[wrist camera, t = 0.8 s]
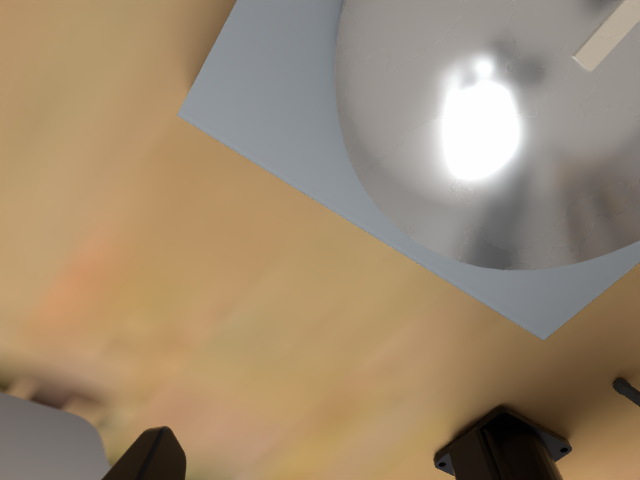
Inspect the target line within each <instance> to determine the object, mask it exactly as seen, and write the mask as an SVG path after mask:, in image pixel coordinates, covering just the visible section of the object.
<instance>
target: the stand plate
mask: <svg viewBox="0 0 640 480" xmlns="http://www.w3.org/2000/svg"><path fill="white" fill-rule="evenodd" d="M343 1H344V0H237V1H236V3H235V5H234V7H233V9H232V11H231V13H230V15H229V17H228V18H227V20H226V22H225V24H224V26H223V28H222V30H221V32H220V34H219V36H218V38H217V39H216V41H215V43H214V45H213V47H212V49H211V51H210V53H209V55H208V57H207V59H206V61H205V62H204V64H203V66H202V68H201V70H200V72H199V74H198V76H197V78H196V80H195V82H194V83H193V85H192V87H191V89H190V91H189V93H188V95H187V97H186V99H185V101H184V103H183V104H182V106H181V108H180V110H179V112H178V114H177V116H179V117H180V118H182V119H184V120H185V121H187V122H188V123H190V124H192V125H193V126H195V127H197V128H198V129H200V130H201V131H203V132H205V133H206V134H208V135H210V136H211V137H213V138H214V139H216V140H218V141H219V142H221V143H223V144H224V145H226V146H228V147H229V148H231V149H232V150H234V151H236V152H237V153H239V154H241V155H242V156H244V157H245V158H247V159H249V160H250V161H252V162H254V163H255V164H257V165H258V166H260V167H262V168H263V169H265V170H267V171H268V172H270V173H271V174H273V175H275V176H276V177H278V178H280V179H281V180H283V181H284V182H286V183H288V184H289V185H291V186H293V187H294V188H296V189H298V190H299V191H301V192H302V193H304V194H306V195H307V196H309V197H311V198H312V199H314V200H315V201H317V202H319V203H320V204H322V205H324V206H325V207H327V208H328V209H330V210H332V211H333V212H335V213H337V214H338V215H340V216H341V217H343V218H345V219H346V220H348V221H350V222H351V223H353V224H354V225H356V226H358V227H359V228H361V229H363V230H364V231H366V232H368V233H369V234H371V235H372V236H374V237H376V238H377V239H379V240H381V241H382V242H384V243H385V244H387V245H389V246H390V247H392V248H394V249H395V250H397V251H398V252H400V253H402V254H403V255H405V256H407V257H408V258H410V259H411V260H413V261H415V262H416V263H418V264H420V265H421V266H423V267H424V268H426V269H428V270H429V271H431V272H433V273H434V274H436V275H438V276H439V277H441V278H442V279H444V280H446V281H447V282H449V283H451V284H452V285H454V286H455V287H457V288H459V289H460V290H462V291H464V292H465V293H467V294H468V295H470V296H472V297H473V298H475V299H477V300H478V301H480V302H481V303H483V304H485V305H486V306H488V307H490V308H491V309H493V310H494V311H496V312H498V313H499V314H501V315H503V316H504V317H506V318H508V319H509V320H511V321H512V322H514V323H516V324H517V325H519V326H521V327H522V328H524V329H525V330H527V331H529V332H530V333H532V334H534V335H535V336H537V337H538V338H540V339H542V340H543V341H544V340H545V339H546V338H547V337H549V336H550V335H551V334H552V333H553V332H555V331H556V330H557V329H558V328H560V327H561V326H562V325H563V324H564V323H566V322H567V321H568V320H569V319H571V318H572V317H573V316H574V315H576V314H577V313H578V312H579V311H580V310H582V309H583V308H584V307H585V306H587V305H588V304H589V303H590V302H591V301H593V300H594V299H595V298H596V297H598V296H599V295H600V294H601V293H602V292H604V291H605V290H606V289H607V288H609V287H610V286H611V285H612V284H613V283H615V282H616V281H617V280H618V279H620V278H621V277H622V276H623V275H625V274H626V273H627V272H628V271H629V270H631V269H632V268H633V267H634V266H636V265H637V264H638V263H639V262H640V240H639V241H637V242H635V243H633V244H631V245H629V246H626V247H624V248H621V249H619V250H617V251H614V252H612V253H609V254H607V255H604V256H600V257H597V258H594V259H591V260H587V261H584V262H581V263H576V264H571V265H566V266H562V267H557V268H549V269H539V270H499V269H490V268H482V267H478V266H474V265H469V264H465V263H461V262H458V261H455V260H453V259H450V258H447V257H445V256H442V255H439V254H437V253H435V252H433V251H431V250H430V249H428V248H426V247H424V246H422V245H420V244H418V243H417V242H415V241H414V240H413V239H411V238H410V237H409V236H407V235H406V234H405V233H403V232H402V231H400V230H399V229H398V228H397V227H396V226H395V225H394V224H393V223H392V222H391V221H390V220H389V219H388V218H387V217H386V216H385V215H384V214H383V213H382V212H381V211H380V210H379V208H378V207H377V206H376V205H375V203H374V202H373V201H372V199H371V198H370V197H369V195H368V194H367V193H366V191H365V189H364V187H363V185H362V184H361V182H360V180H359V178H358V176H357V175H356V173H355V171H354V168H353V166H352V163H351V161H350V158H349V156H348V153H347V151H346V148H345V145H344V140H343V136H342V132H341V128H340V124H339V120H338V113H337V106H336V96H335V86H334V48H335V41H336V35H337V28H338V21H339V16H340V12H341V8H342V4H343Z"/></svg>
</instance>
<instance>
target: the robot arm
mask: <svg viewBox="0 0 640 480" xmlns="http://www.w3.org/2000/svg"><path fill="white" fill-rule="evenodd" d="M571 450H572V447H571V445H570V443H569V442H568V441H567V440H565V439H563V438H562V437H560V436H558V435H556V434H554V433H552V432H550V431H548V430H547V429H545V428H543V427H541V426H539V425H537V424H535V423H534V422H532V421H530V420H528V419H526V418H524V417H522V416H520V415H519V414H517V413H515V412H513V411H511V410H509V409H507V408H505V407H500V408H497V409H495V410H494V411H493V412H491V413H490V414H489V415H488V416H486V417H485V418H484V419H482V420H481V421H480V422H479V423H477V424H476V425H475V426H474V427H472V428H471V429H470V430H468V431H467V432H466V433H465V434H463V435H462V436H461V437H459V438H458V439H457V440H456V441H454V442H453V443H452V444H450V445H449V446H448V447H447V448H445V449H444V450H443V451H441V452H440V453H439V454H438V455H436V456H435V457H434V459H433V460H434V465H435V467H436V468H437V469H440V470H442V471H444V472H446V473H449V474H451V475H453V476H455V479H456V480H563V478H562V476H561V474H560V472H559V470H558V468H557V466H556V464H555V462H556V461H558V460H559V459H561V458H562V457H564V456H565V455H567V454H568V453H570V452H571ZM185 474H186V456H185V453H184V451H183V449H182V447H181V445H180V444H179V442H178V440H177V438H176V437H175V435H174V433H173V432H172V430H171V429H170V428H169V427H167V426H162V427H155V428H150V429H147V430H145V431H144V432H143V433H142V434H141V435H140V436H139V437H138V438H137V439H136V441H135V442H134V443H133V444H132V445H131V446H130V447H129V449H128V450H127V451H126V452H125V453H124V454H123V455H122V457H121V458H120V459H119V460H118V461H117V462H116V463H115V465H114V466H113V467H112V468H111V469H110V470H109V471H108V473H107V474H106V475H105V476H104V477H103V478H102V479H101V480H185Z"/></svg>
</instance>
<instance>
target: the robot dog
mask: <svg viewBox="0 0 640 480" xmlns="http://www.w3.org/2000/svg"><path fill="white" fill-rule="evenodd" d="M613 387H614V389H615V390H616V391H617V392H618V393H620V394H622V395H624V396H626V397H627V398H629V399H630V400H631V401H633V402H634V403H635V404H637V405H638V406H639V407H640V392H639V391H638V390H636V389H635V388H634V387H632V386H631V385H630V384H629V383H628V382H627V381H625V380H624V379H621V378H619V379H618V380H617V381H616V382H615V383H614V384H613Z"/></svg>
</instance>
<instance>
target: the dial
mask: <svg viewBox="0 0 640 480" xmlns="http://www.w3.org/2000/svg"><path fill="white" fill-rule="evenodd" d="M334 86H335V96H336V106H337V113H338V120H339V124H340V128H341V132H342V136H343V140H344V145H345V148H346V151H347V153H348V156H349V158H350V161H351V163H352V166H353V168H354V171H355V173H356V175H357V176H358V178H359V180H360V182H361V184H362V185H363V187H364V189H365V191H366V193H367V194H368V195H369V197H370V198H371V199H372V201H373V202H374V203H375V205H376V206H377V207H378V208H379V210H380V211H381V212H382V213H383V214H384V215H385V216H386V217H387V218H388V219H389V220H390V221H391V222H392V223H393V224H394V225H395V226H396V227H397V228H398V229H399V230H400V231H402V232H403V233H405V234H406V235H407V236H409V237H410V238H411V239H413V240H414V241H415V242H417V243H418V244H420V245H422V246H424V247H426V248H428V249H430V250H431V251H433V252H435V253H437V254H439V255H442V256H445V257H447V258H450V259H453V260H455V261H458V262H461V263H465V264H469V265H474V266H478V267H482V268H490V269H499V270H539V269H549V268H557V267H562V266H566V265H571V264H576V263H581V262H584V261H587V260H591V259H594V258H597V257H600V256H604V255H607V254H609V253H612V252H614V251H617V250H619V249H621V248H624V247H626V246H629V245H631V244H633V243H635V242H637V241H639V240H640V0H344V1H343V4H342V8H341V12H340V16H339V21H338V28H337V35H336V41H335V48H334Z"/></svg>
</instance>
